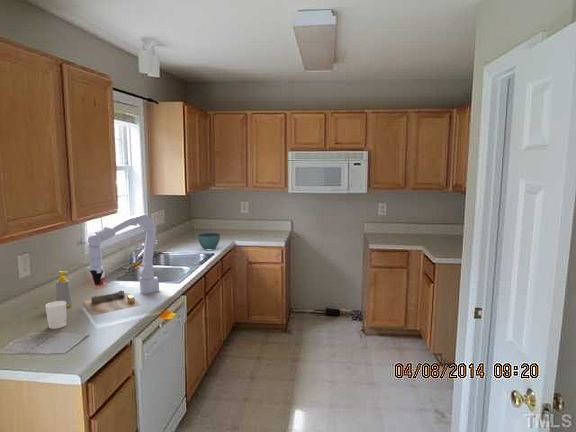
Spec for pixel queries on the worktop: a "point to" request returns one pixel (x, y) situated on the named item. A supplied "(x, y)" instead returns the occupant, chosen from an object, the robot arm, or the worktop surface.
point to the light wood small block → (131, 299)
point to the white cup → (56, 314)
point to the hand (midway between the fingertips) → (97, 284)
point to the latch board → (110, 305)
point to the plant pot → (209, 240)
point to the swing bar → (107, 296)
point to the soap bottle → (63, 290)
